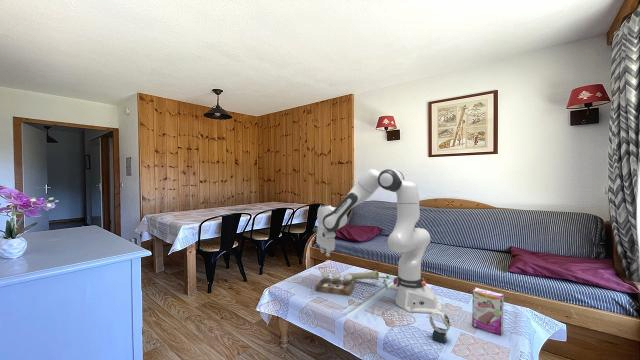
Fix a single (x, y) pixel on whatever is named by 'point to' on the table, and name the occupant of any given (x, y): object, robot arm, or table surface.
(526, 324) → the table surface
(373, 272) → the flower vase
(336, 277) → the middle button
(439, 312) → the watch
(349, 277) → the inner button
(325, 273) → the outer button
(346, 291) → the button board
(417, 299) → the robot arm
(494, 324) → the candy bar box
